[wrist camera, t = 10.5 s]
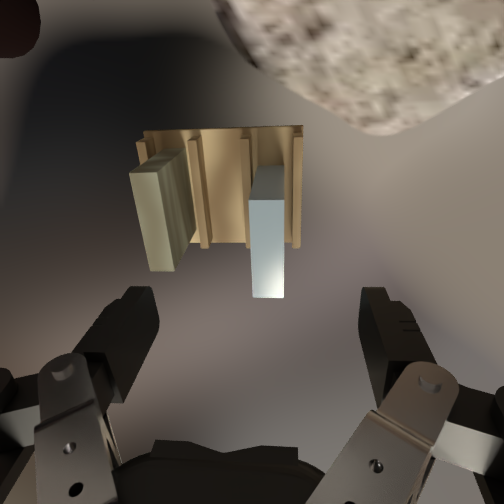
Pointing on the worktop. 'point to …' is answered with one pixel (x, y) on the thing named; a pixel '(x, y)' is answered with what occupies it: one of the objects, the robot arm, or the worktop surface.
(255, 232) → the pale blue-grey block
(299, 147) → the dish rack
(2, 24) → the bottle
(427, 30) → the worktop surface
